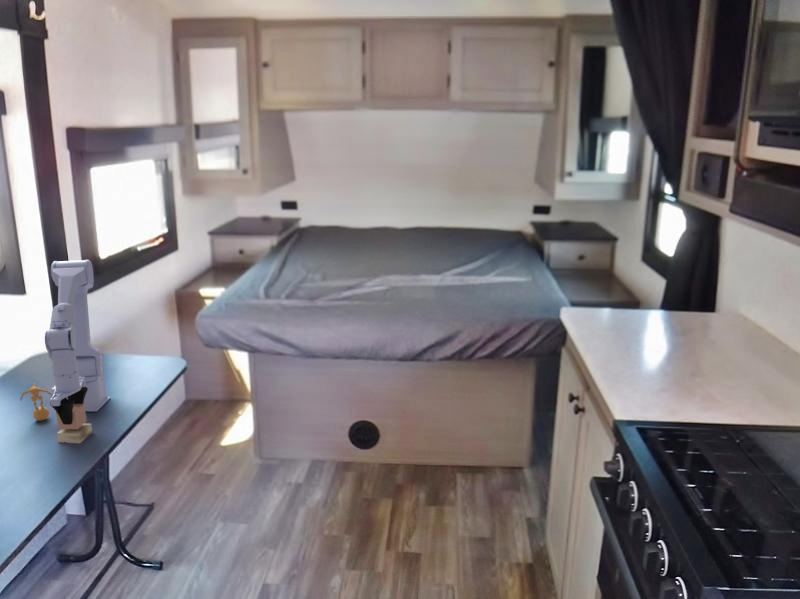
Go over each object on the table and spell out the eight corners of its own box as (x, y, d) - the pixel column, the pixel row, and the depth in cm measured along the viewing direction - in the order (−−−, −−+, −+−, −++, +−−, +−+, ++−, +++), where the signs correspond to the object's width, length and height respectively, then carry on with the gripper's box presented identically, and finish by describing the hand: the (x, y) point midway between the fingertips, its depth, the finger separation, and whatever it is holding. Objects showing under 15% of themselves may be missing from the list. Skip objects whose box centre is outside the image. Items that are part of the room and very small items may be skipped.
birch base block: (71, 432, 174) (70, 422, 173) (92, 433, 173) (91, 423, 172) (58, 443, 168) (56, 432, 167) (79, 444, 167) (78, 434, 166)
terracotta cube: (68, 420, 172) (65, 403, 170) (86, 420, 172) (84, 403, 170) (58, 429, 167) (55, 412, 165) (77, 429, 167) (75, 412, 165)
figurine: (59, 414, 183) (53, 376, 179) (55, 424, 177) (49, 384, 174) (27, 418, 180) (20, 380, 177) (22, 428, 175) (15, 388, 171)
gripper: (64, 361, 172) (71, 406, 176) (35, 383, 158) (43, 431, 162) (90, 361, 172) (96, 407, 176) (63, 383, 158) (70, 432, 162)
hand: (72, 419), depth 169 cm, fingers closed on terracotta cube, 5 cm apart
